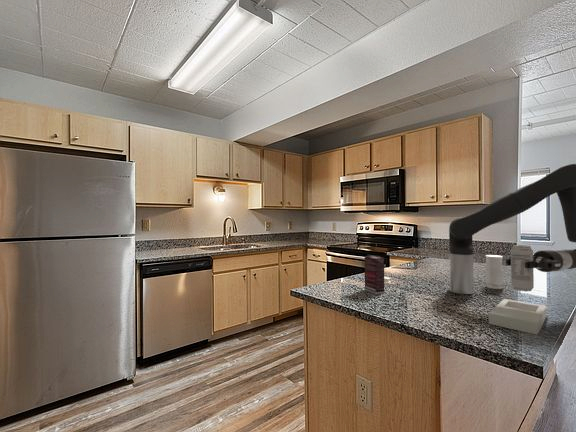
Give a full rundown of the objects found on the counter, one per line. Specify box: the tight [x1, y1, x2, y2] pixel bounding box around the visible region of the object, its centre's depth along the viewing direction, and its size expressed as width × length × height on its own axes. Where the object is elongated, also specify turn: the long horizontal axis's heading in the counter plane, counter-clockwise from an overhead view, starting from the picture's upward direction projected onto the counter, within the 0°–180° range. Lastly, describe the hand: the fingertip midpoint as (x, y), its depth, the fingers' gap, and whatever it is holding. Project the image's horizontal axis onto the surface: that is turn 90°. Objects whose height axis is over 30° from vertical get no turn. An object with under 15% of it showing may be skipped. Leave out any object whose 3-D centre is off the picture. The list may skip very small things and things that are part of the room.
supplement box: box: [364, 255, 385, 295], centre depth 134 cm, size 9×5×16 cm, turn 22°
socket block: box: [488, 298, 548, 336], centre depth 98 cm, size 12×22×4 cm, turn 133°
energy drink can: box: [510, 244, 535, 292], centre depth 101 cm, size 6×6×15 cm
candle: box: [484, 254, 504, 290], centre depth 140 cm, size 7×7×15 cm
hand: (516, 263), depth 100 cm, fingers closed on energy drink can, 6 cm apart
